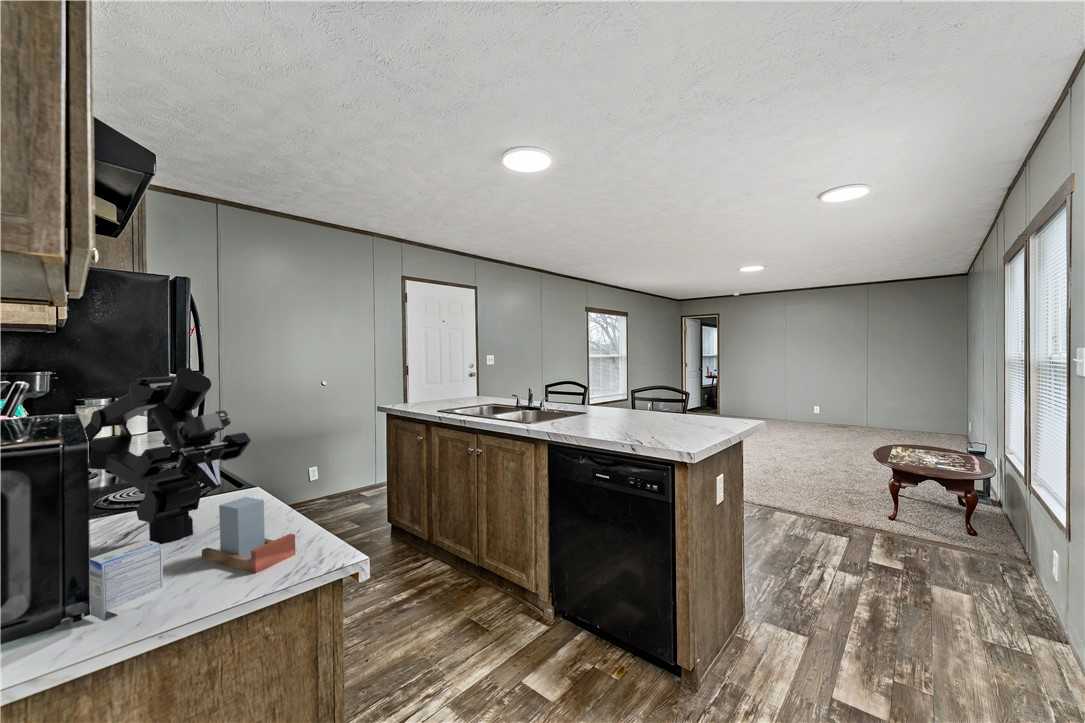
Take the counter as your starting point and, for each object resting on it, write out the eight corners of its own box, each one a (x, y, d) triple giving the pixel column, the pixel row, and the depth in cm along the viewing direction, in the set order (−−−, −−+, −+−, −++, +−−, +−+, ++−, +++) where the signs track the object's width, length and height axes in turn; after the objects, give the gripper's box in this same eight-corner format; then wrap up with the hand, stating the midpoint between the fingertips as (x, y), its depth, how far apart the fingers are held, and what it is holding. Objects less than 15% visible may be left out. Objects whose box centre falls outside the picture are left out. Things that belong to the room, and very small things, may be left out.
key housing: (197, 567, 85) (196, 539, 85) (244, 548, 94) (244, 522, 94) (253, 583, 80) (253, 553, 80) (299, 560, 88) (298, 533, 88)
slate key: (220, 558, 86) (219, 505, 86) (246, 547, 91) (245, 496, 90) (239, 563, 84) (237, 508, 84) (264, 552, 89) (263, 500, 88)
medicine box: (148, 590, 78) (146, 538, 78) (164, 595, 76) (162, 543, 76) (87, 615, 71) (85, 558, 70) (104, 622, 69) (101, 564, 69)
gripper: (140, 404, 82) (182, 473, 78) (243, 394, 99) (282, 449, 96) (116, 445, 85) (155, 513, 82) (220, 428, 103) (256, 483, 99)
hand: (217, 487), depth 89 cm, fingers closed
